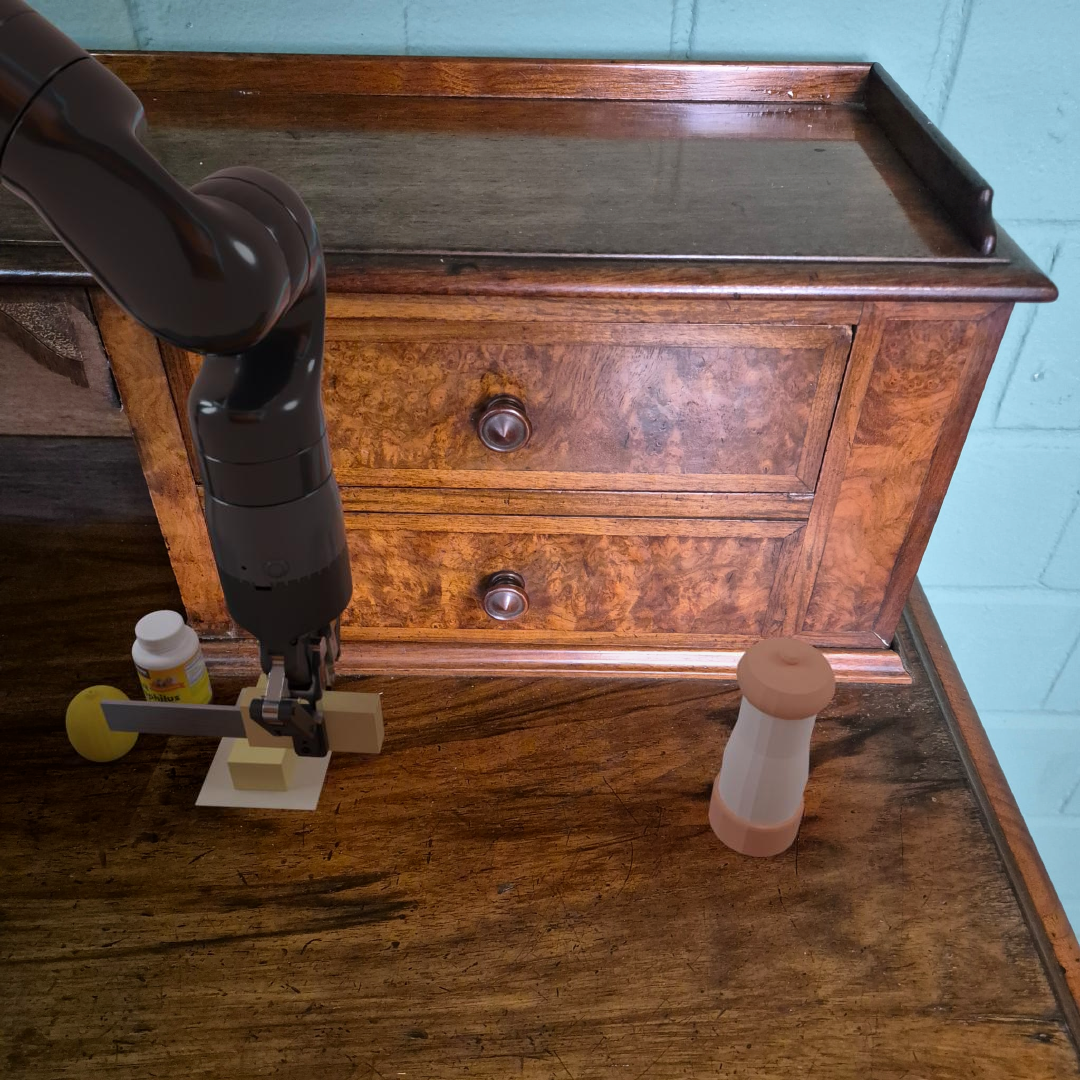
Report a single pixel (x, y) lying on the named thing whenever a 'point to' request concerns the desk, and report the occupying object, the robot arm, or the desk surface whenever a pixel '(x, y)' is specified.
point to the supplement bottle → (170, 660)
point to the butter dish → (298, 795)
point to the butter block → (260, 767)
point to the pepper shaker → (770, 746)
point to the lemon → (96, 726)
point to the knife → (345, 713)
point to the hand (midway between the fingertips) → (317, 739)
